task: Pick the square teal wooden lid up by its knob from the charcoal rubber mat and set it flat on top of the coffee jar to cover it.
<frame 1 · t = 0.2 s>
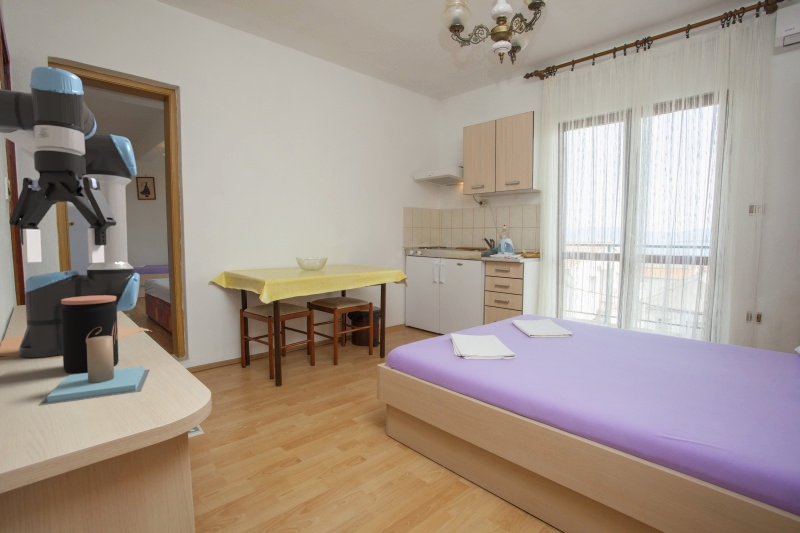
hand: (64, 262, 76), 27 cm above the table, fingers open, 13 cm apart
mat: (101, 388, 83), on the table
lid: (101, 385, 83), point 1 cm above the table, touching mat
coffee jar: (92, 370, 96), on the table
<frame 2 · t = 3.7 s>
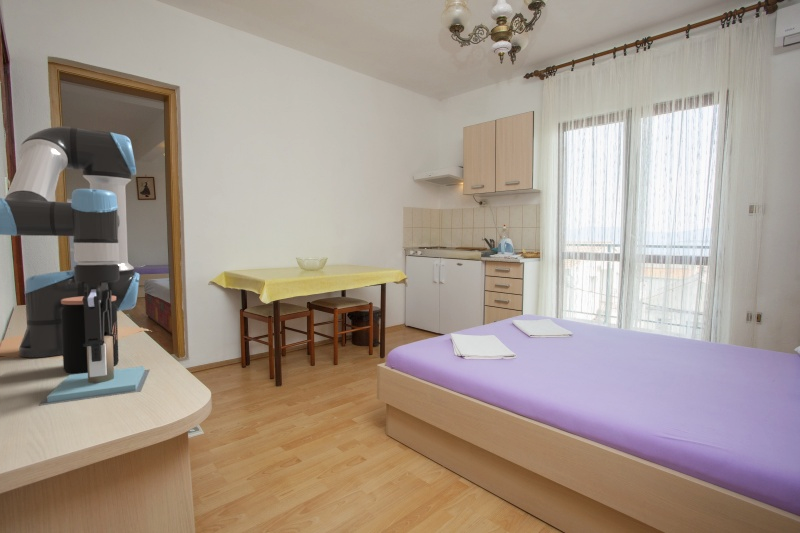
hand: (101, 372, 83), 4 cm above the table, fingers closed on lid, 4 cm apart
lid: (101, 385, 83), point 1 cm above the table, touching gripper, mat
everything else where it was.
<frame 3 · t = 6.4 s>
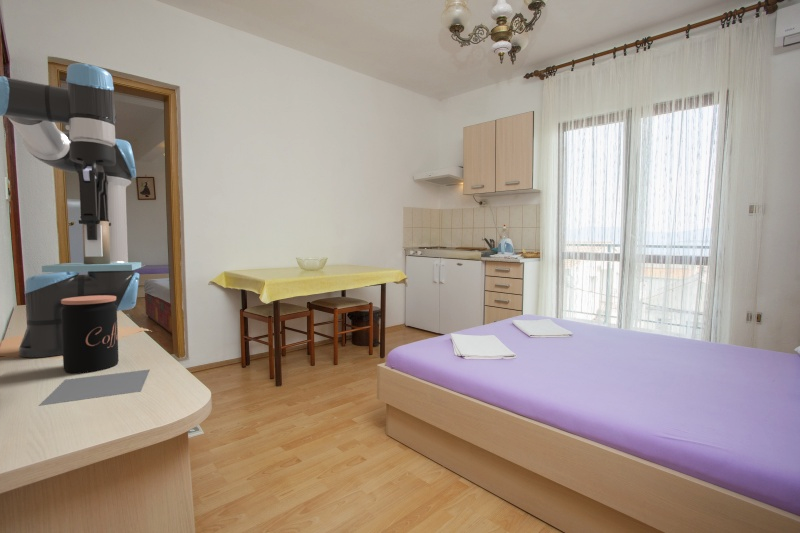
hand: (96, 256, 82), 29 cm above the table, fingers closed on lid, 4 cm apart
lid: (97, 269, 82), point 26 cm above the table, touching gripper
everything else where it was.
when the fingers open (23 cm above the table, at t = 9.4 s): lid drops 3 cm, resting on coffee jar.
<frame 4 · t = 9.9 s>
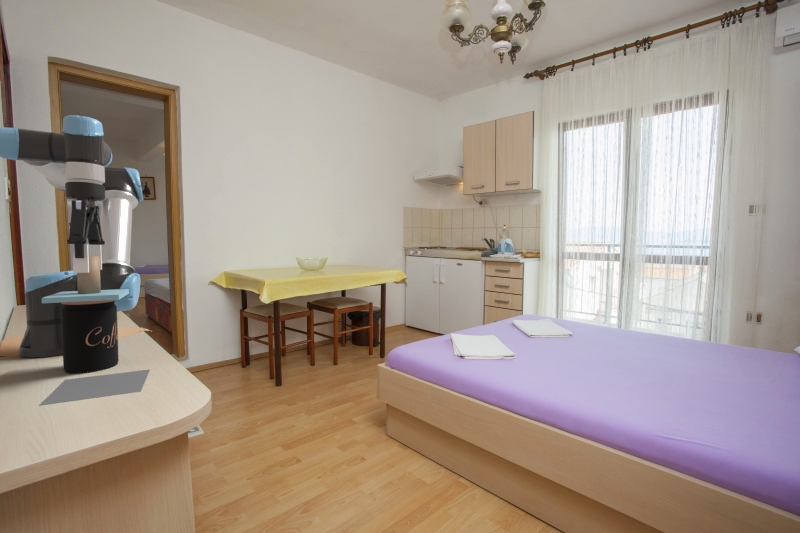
hand: (88, 271, 95), 25 cm above the table, fingers open, 12 cm apart
lid: (89, 297, 95), point 18 cm above the table, touching coffee jar
coffee jar: (92, 370, 96), on the table, touching lid
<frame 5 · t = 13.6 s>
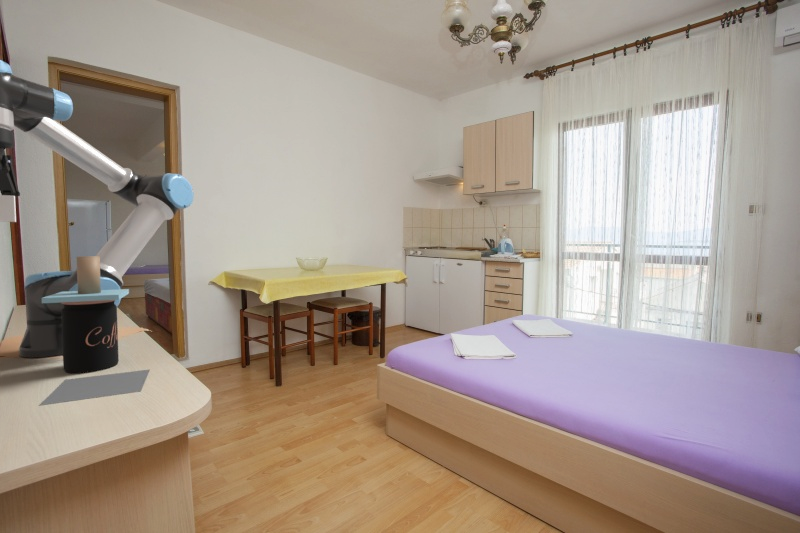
nothing on the table moved.
at the end: lid 0.0 cm off-centre on the coffee jar, point 18.2 cm above the coffee jar's base; lid tilted 0°; the gripper is holding nothing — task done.
